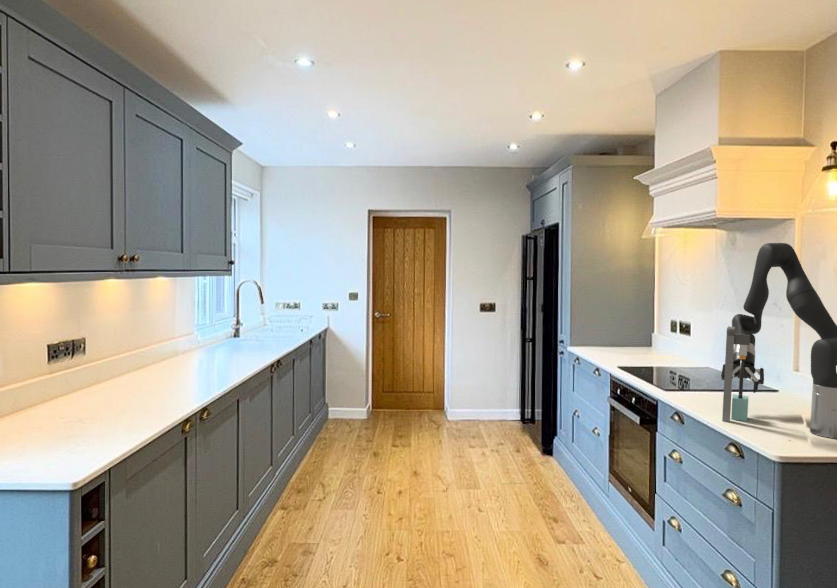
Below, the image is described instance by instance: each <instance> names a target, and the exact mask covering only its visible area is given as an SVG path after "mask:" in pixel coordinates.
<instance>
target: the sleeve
mask: <svg viewBox="0 0 837 588" xmlns="http://www.w3.org/2000/svg"><path fill="white" fill-rule="evenodd" d="M749 397H750V396H749V395H743V394H742V399H740V398H739V394H733V393H732V397H731V414H730V420H732V421H733V420H734V421H740V422H748V417H749V416H748V413H749Z"/></svg>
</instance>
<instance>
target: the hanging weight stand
mask: <svg viewBox="0 0 837 588" xmlns="http://www.w3.org/2000/svg"><path fill="white" fill-rule="evenodd" d="M725 341H726V342H725V357H724V358H725V359H724V364H725V376H724V380H723V381H724V382H723V396H722V397H723V399H722V418H721V419H722V422H725V423H731V413H732V394H733V393H732V390H733V379H732V374H733V354H734V347H735V344H739V354H738V355H739V359H741V360H740V378H738V379H739V380H738V382H739V383H738V395H739V398H740V399H742V395H743V390H744V389H743V388H744V378H743V375H744V359H746V356H747V345H750V335H746V334H735V327H732V326H727V328H726V339H725Z"/></svg>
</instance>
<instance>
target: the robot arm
mask: <svg viewBox="0 0 837 588" xmlns="http://www.w3.org/2000/svg"><path fill="white" fill-rule="evenodd" d="M772 268H781V270H782V272H783V274H784V275H785V278H786V280H787V285H786V292H785V296H786V300H787V302H788V304H789V305H790V308H791V309H792V311H793V313H794V314H795V315H796V316H797V317H798V318H799V319H800V320H802V321H803V322H804V324H807V326H809V327H810V328H811V329H812V330H813V331H815V332H816V333H817V335H818V336H819V337H820V339H817V340H816V341H814V343H813V344H812V347H811V349H810V375H811V377H812V389H811V390H812V392H811V406H810V407H811V409H810V426H809V432H810V433H811V434H812V435H816V436H820V437H825V438H830V439H837V324H836V323H835V321H834V320H833V318H832V316H831V314H830V313H829V311H828V310H827V308H826V307H825V305H824V303H823V301H822V299H821V298H820V296H819V294H818V292H817V291H816V290H815V288H814V287H813V285H812V283H811V282H810V279H809V278H808V276H807V274H806V273H805V271H804V268H803V266H802V264H801V261H800V259H799V257H798V254H797V252H796V250H795V249H794V248H793V246H792V245H790V244H789V243H787V242H767V243H764V244H763V245H762V246H761V247H760V248H759V249H758V253H757V255H756V260H755V265H754V270H753V273H752V274H753V276H752V281H751V283H750V284H751V285H750V288H749V290H748V291H749V292H748V294H747V295H746V299H745V300H744V304H743V310H744V311H745V312H746V313H748V314H750V315H747V314H743V313H737V314H735V315H734V316H733V317H732V319H731V327H735V334H746V335H750V345H747V356H746V359H744V375H743V380H744V379H745V380H748V379H749V381H750V382H752V383H753V393H754V394H756V393H757V392H758V390H759V389H758V388H759V385H764V383H765V371H764V369H765V368H763V367H760V368H756V367H755V365H756V362H755V361H756V336H755V335H756V334H758V333H760V331H761V329H762V316H763V313H764V312H763V311H764V309H765V306H766V303H767V302H768V299H769V296H770V295H769V294H770V291H769V290H770V289H769V286H768V285H769V284H768V275H769V272H770V271H771V269H772ZM751 315H753V316H751ZM738 354H739V344H734V354H733V374H732V380H735V379H736V378H737V379H740V360H741V359H739V355H738ZM756 373H757V375H758V376H759V379H758V378H757V376H756V375H755V374H756ZM724 376H725V363H724V364H722V369H721V377H720V379H721V380H722V381H724Z"/></svg>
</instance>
